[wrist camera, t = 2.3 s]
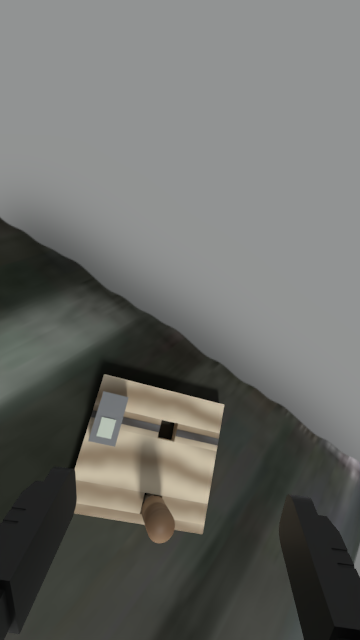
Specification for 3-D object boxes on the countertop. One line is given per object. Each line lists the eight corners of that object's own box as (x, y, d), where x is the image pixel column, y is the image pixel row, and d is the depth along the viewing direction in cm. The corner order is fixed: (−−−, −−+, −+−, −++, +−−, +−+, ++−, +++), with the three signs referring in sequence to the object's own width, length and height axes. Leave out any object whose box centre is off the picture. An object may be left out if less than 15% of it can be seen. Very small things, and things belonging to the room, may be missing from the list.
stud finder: (114, 444, 49) (115, 446, 46) (88, 438, 48) (87, 441, 45) (127, 397, 51) (129, 397, 48) (103, 391, 50) (103, 391, 48)
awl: (157, 514, 50) (171, 545, 39) (135, 510, 49) (143, 540, 39) (162, 489, 51) (177, 512, 41) (141, 485, 50) (151, 508, 40)
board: (198, 528, 51) (202, 534, 48) (63, 505, 47) (61, 511, 44) (219, 404, 58) (224, 404, 55) (104, 375, 54) (104, 374, 51)
